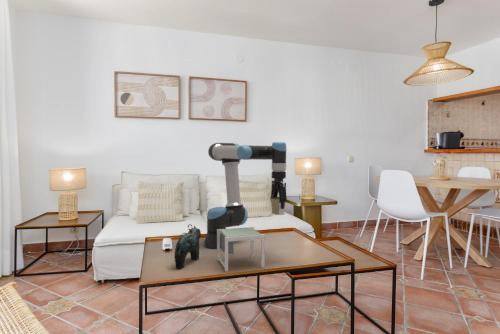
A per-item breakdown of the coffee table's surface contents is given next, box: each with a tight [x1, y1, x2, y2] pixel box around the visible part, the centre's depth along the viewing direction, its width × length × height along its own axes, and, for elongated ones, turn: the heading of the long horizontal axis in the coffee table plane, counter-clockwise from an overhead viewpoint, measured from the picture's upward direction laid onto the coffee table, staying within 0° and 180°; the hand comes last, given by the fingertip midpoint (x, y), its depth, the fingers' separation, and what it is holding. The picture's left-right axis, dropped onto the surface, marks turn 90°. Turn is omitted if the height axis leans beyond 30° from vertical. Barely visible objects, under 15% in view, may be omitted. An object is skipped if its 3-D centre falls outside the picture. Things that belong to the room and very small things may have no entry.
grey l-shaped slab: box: [220, 227, 261, 255], centre depth 164 cm, size 18×14×9 cm
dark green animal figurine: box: [174, 223, 202, 270], centre depth 164 cm, size 20×6×20 cm, turn 159°
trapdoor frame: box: [216, 226, 266, 272], centre depth 164 cm, size 20×18×16 cm
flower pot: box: [269, 196, 286, 216], centre depth 169 cm, size 9×9×9 cm
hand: (278, 213), depth 169 cm, fingers closed on flower pot, 8 cm apart
